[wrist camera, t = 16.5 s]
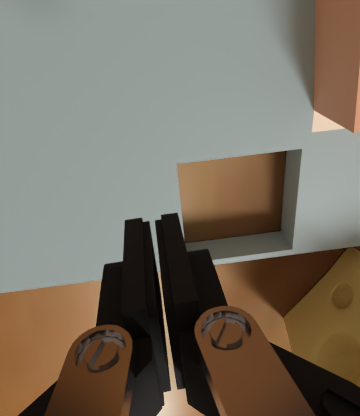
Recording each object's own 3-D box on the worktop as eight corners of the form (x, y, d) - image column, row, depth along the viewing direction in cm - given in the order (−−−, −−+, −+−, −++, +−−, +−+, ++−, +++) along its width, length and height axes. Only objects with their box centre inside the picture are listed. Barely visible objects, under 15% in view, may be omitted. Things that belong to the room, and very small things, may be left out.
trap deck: (-22, 275, 27) (-36, 297, 25) (-155, 16, 18) (-196, 17, 16) (369, 224, 28) (387, 242, 26) (430, -43, 19) (467, -51, 17)
